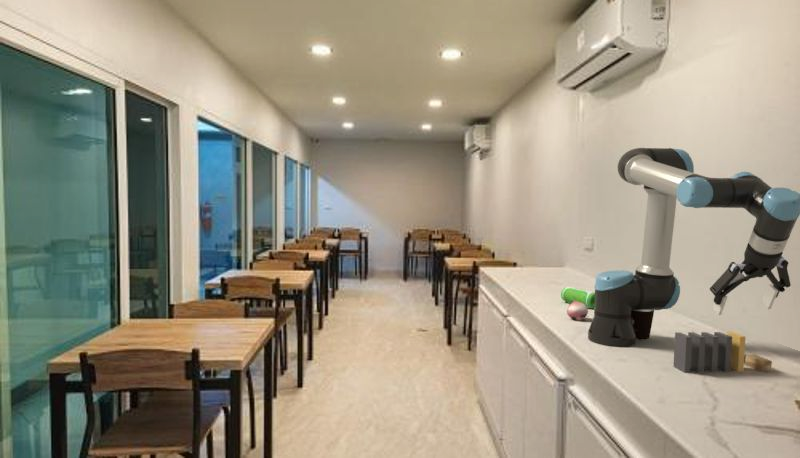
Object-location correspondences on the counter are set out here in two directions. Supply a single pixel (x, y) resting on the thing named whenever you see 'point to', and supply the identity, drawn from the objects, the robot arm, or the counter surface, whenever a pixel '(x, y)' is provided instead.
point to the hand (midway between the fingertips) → (741, 308)
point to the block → (758, 363)
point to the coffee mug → (642, 323)
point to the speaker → (578, 296)
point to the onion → (577, 311)
